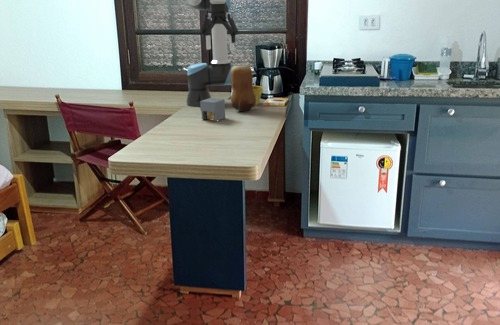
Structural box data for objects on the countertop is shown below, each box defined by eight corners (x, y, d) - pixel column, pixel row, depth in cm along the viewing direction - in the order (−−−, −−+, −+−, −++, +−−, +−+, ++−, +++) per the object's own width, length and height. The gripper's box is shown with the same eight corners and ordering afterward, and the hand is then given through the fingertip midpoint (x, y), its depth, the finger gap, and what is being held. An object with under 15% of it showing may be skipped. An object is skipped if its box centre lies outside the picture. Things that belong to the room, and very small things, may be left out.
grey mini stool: (201, 120, 251) (200, 101, 248) (211, 116, 258) (210, 97, 255) (215, 122, 247) (214, 102, 243) (225, 118, 254) (224, 99, 251)
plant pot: (260, 105, 280) (260, 88, 276) (243, 105, 282) (242, 88, 278) (263, 102, 289) (263, 85, 286) (246, 101, 291) (246, 85, 288)
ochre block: (207, 119, 252) (206, 111, 250) (212, 118, 255) (211, 109, 254) (214, 120, 250) (214, 112, 248) (219, 118, 253) (219, 110, 252)
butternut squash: (243, 106, 278) (242, 62, 270) (260, 110, 269) (259, 64, 261) (225, 111, 269) (223, 65, 261) (242, 114, 260) (241, 67, 252)
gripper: (191, 3, 229) (194, 49, 236) (236, 2, 217) (238, 51, 224) (201, 3, 235) (203, 48, 242) (245, 2, 223) (246, 49, 230)
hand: (220, 49), depth 233 cm, fingers open, 13 cm apart
